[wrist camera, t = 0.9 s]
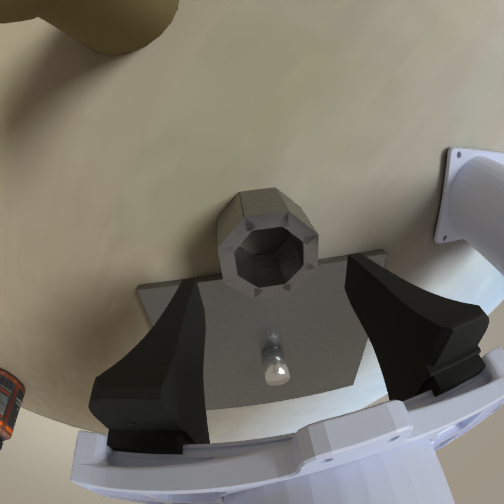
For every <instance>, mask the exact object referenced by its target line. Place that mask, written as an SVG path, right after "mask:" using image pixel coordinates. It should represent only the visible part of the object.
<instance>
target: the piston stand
mask: <svg viewBox="0 0 504 504" xmlns="http://www.w3.org/2000/svg"><path fill="white" fill-rule="evenodd" d="M360 254H362V255H364V256H366V257H367V258H369V259H370V260H372V261H374V262H375V263H377V264H378V265H380V266H382V267H383V268H384V264H385V259H386V253H385V252H384V250H377V251H371V252H365V253H360ZM347 260H348V255H346V256H340V257H334V258H327V259H321V260H318V268H317V269H316V270H315V271H314V272H313V273H312V274H311V275H310V276H309V277H308V278H307V279H306V280H305V281H304V282H303V283H302V284H301V285H300V286H299V287H298V288H297V289H296V290H295V291H294V292H293V293H291V294H287V295H281V296H275V297H268V298H262V299H252V298H251V297H249V296H247V295H245V294H243V293H242V292H240V291H238V290H236V289H234V288H233V287H231V286H229V285H227V284H225V283H224V281H223V276H222V274H219V275H212V276H205V277H197V278H196V280H197V284H198V288H199V291H200V295H201V299H202V302H203V306H204V309H205V322H206V335H205V350H204V365H203V381H204V396H205V407H206V410H212V409H223V408H233V407H242V406H250V405H258V404H264V403H271V402H277V401H283V400H289V399H294V398H299V397H304V396H309V395H314V394H318V393H323V392H327V391H331V390H335V389H339V388H343V387H347V386H351V385H353V383H354V380H355V377H356V374H357V371H358V368H359V365H360V362H361V359H362V355H363V352H364V349H365V345H366V342H367V338H368V336H367V334H366V332H365V330H364V328H363V326H362V324H361V323H360V321H359V319H358V317H357V315H356V314H355V312H354V310H353V308H352V306H351V304H350V302H349V299H348V297H347V294H346V291H345V289H344V287H345V278H346V269H347ZM190 279H191V278H190ZM182 280H184V279H182ZM182 280H175V281H167V282H159V283H152V284H144V285H139V286H138V289H137V291H138V294H139V296H140V299H141V301H142V303H143V306H144V308H145V310H146V312H147V315H148V317H149V319H150V321H151V324H152V326H154V325H155V323H156V322H157V321H158V319H159V318H160V316H161V315H162V313H163V312H164V310H165V309H166V307H167V306H168V304H169V302H170V301H171V299H172V297H173V296H174V294H175V292H176V290H177V289H178V287H179V285H180V283H181V282H182Z"/></svg>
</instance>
